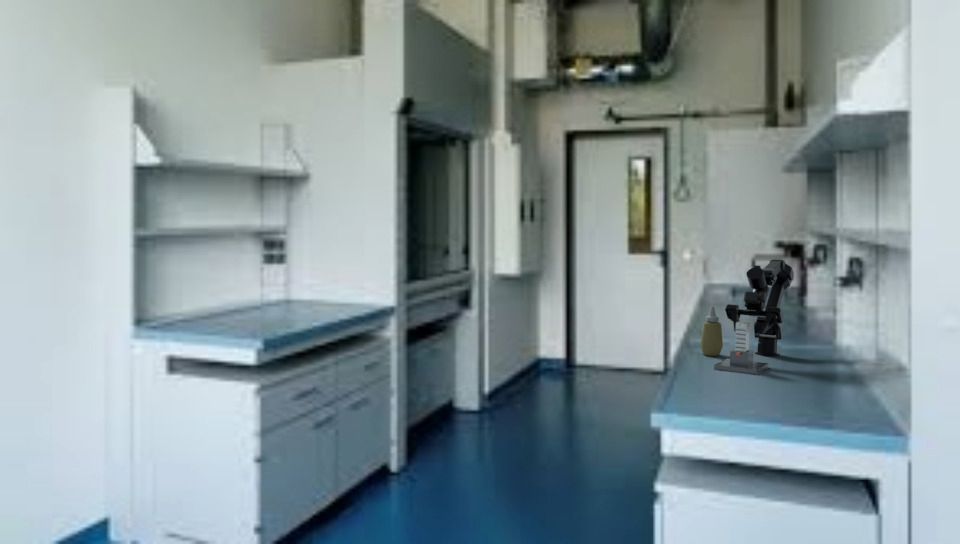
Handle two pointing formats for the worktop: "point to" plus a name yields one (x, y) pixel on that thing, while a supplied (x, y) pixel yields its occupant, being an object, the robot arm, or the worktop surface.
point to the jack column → (742, 336)
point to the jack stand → (741, 363)
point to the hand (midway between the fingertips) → (748, 332)
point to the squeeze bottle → (711, 335)
